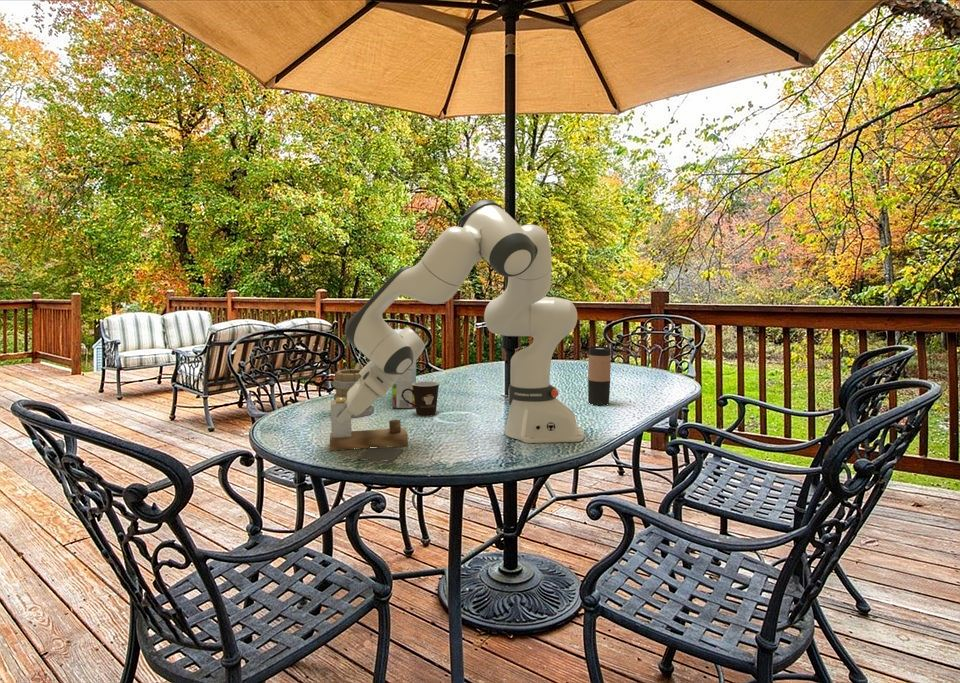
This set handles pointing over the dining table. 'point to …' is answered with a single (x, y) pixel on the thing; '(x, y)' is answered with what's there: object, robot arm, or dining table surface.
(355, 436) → the body
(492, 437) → the dining table surface
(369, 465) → the dining table surface
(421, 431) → the dining table surface
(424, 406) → the coffee mug
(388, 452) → the mat
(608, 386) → the travel mug
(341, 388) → the tankard
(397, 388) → the snack box
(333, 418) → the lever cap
